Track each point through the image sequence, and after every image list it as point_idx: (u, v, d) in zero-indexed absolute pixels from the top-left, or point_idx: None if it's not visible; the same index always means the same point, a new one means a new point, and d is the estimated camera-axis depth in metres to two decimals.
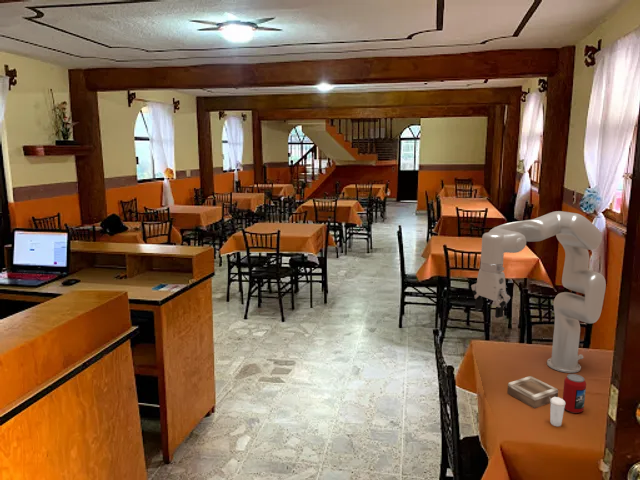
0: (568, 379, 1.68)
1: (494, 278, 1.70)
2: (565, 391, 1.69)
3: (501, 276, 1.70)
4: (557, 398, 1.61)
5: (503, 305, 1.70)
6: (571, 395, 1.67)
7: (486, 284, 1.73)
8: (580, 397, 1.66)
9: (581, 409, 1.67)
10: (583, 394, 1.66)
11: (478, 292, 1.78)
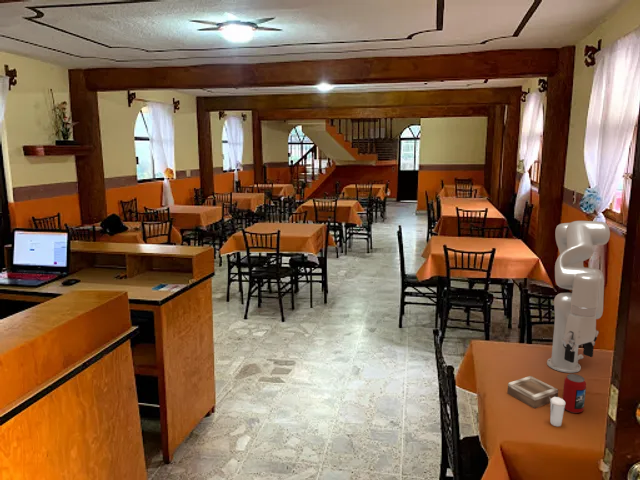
0: (568, 379, 1.68)
1: (594, 318, 1.63)
2: (565, 391, 1.69)
3: None
4: (557, 398, 1.61)
5: None
6: (571, 395, 1.67)
7: (589, 329, 1.62)
8: (580, 397, 1.66)
9: (581, 409, 1.67)
10: (583, 394, 1.66)
11: (579, 342, 1.61)
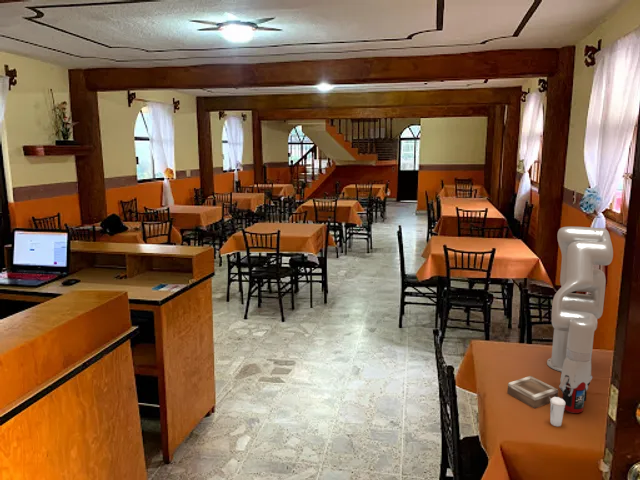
0: None
1: (590, 362, 1.67)
2: None
3: None
4: (557, 398, 1.61)
5: None
6: (571, 395, 1.67)
7: (584, 373, 1.65)
8: (580, 397, 1.66)
9: (581, 409, 1.67)
10: (582, 394, 1.66)
11: (575, 386, 1.65)
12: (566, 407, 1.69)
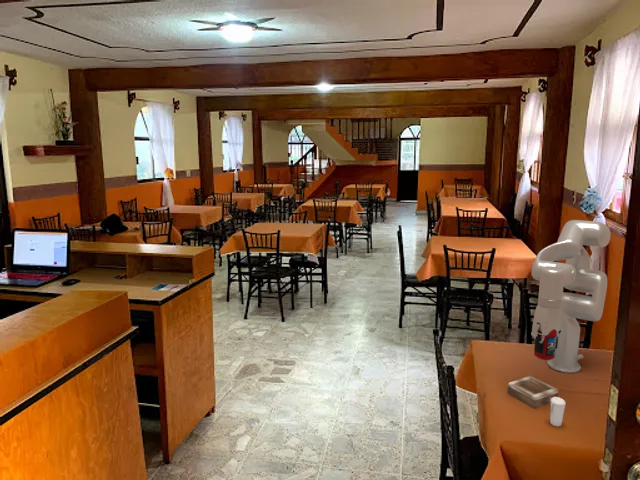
0: None
1: (560, 309, 1.70)
2: None
3: None
4: (557, 398, 1.61)
5: None
6: None
7: (555, 320, 1.69)
8: (551, 344, 1.70)
9: (552, 356, 1.71)
10: (554, 341, 1.70)
11: (546, 333, 1.68)
12: (538, 355, 1.72)
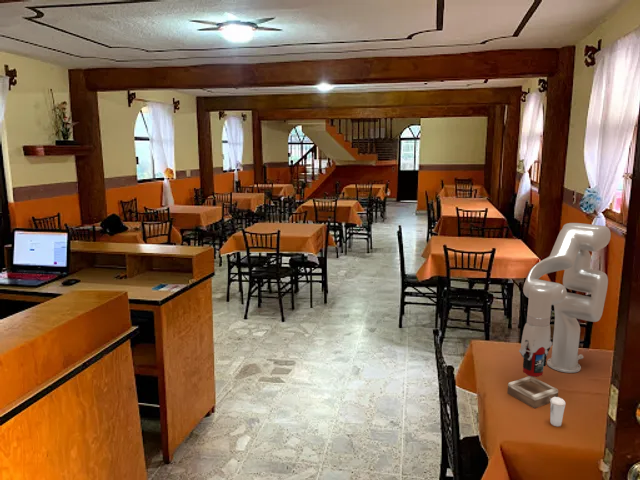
0: None
1: (549, 328, 1.74)
2: None
3: None
4: (557, 398, 1.61)
5: None
6: None
7: (543, 338, 1.73)
8: (539, 361, 1.73)
9: (540, 373, 1.75)
10: (542, 359, 1.74)
11: (534, 350, 1.72)
12: (526, 371, 1.76)
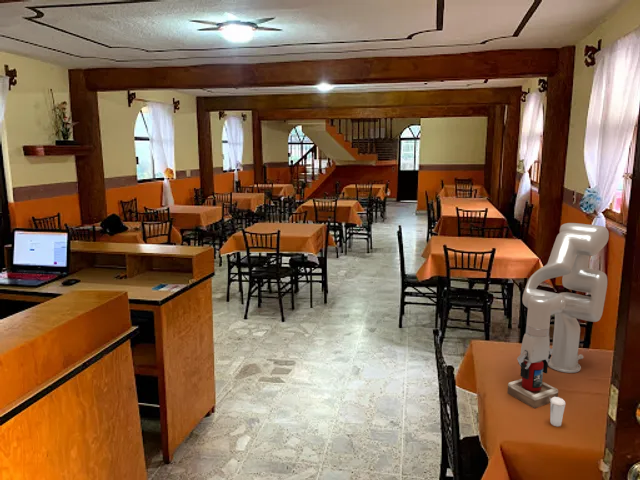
0: None
1: (548, 338, 1.75)
2: None
3: None
4: (557, 398, 1.61)
5: None
6: (529, 375, 1.75)
7: (543, 348, 1.73)
8: (538, 377, 1.75)
9: (539, 388, 1.76)
10: (540, 374, 1.75)
11: (533, 360, 1.73)
12: (525, 386, 1.77)
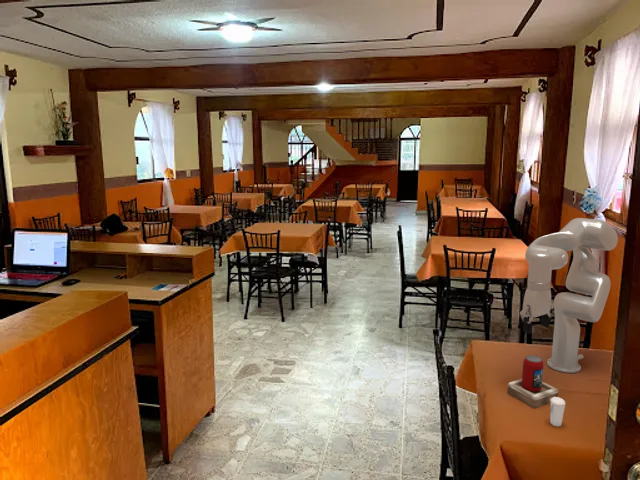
0: (526, 360, 1.76)
1: (549, 292, 1.76)
2: (524, 371, 1.77)
3: None
4: (557, 398, 1.61)
5: None
6: (529, 375, 1.75)
7: (544, 302, 1.75)
8: (538, 376, 1.75)
9: (539, 388, 1.76)
10: (540, 374, 1.75)
11: (535, 314, 1.74)
12: (525, 386, 1.77)
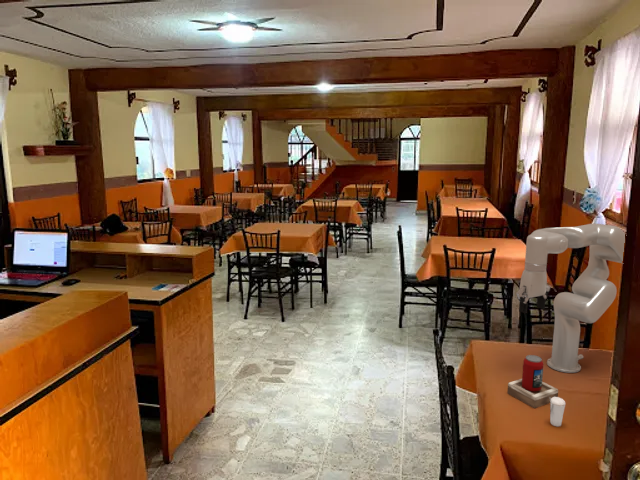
0: (526, 360, 1.76)
1: (545, 274, 1.85)
2: (524, 371, 1.77)
3: None
4: (557, 398, 1.61)
5: None
6: (529, 375, 1.75)
7: (540, 283, 1.84)
8: (538, 376, 1.75)
9: (539, 388, 1.76)
10: (540, 374, 1.75)
11: (531, 295, 1.83)
12: (525, 386, 1.77)
